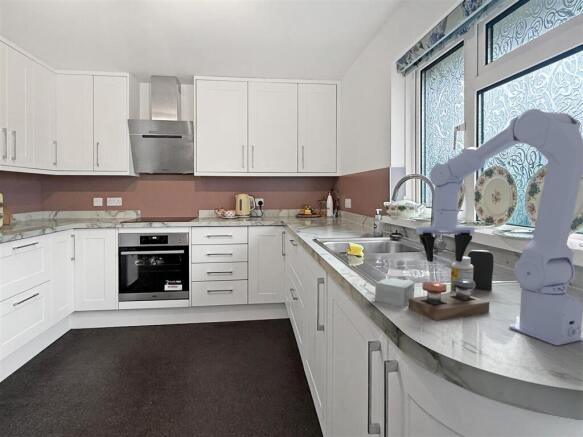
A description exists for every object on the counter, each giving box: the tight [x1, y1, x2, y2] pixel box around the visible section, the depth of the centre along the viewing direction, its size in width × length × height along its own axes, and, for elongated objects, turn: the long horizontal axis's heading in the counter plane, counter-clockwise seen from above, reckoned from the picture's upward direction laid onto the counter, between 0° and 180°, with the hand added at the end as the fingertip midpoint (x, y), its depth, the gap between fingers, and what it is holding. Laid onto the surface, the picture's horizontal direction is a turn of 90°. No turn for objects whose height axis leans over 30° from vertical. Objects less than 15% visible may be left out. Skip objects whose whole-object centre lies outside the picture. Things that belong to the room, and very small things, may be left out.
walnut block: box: [407, 292, 490, 322], centre depth 83 cm, size 9×16×2 cm, turn 111°
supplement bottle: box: [450, 255, 474, 295], centre depth 98 cm, size 6×6×10 cm
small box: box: [374, 277, 415, 308], centre depth 91 cm, size 8×8×5 cm
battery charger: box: [466, 249, 495, 291], centre depth 103 cm, size 7×4×11 cm, turn 66°
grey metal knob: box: [450, 279, 475, 300], centre depth 85 cm, size 5×5×4 cm
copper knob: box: [421, 281, 447, 304], centre depth 82 cm, size 5×5×4 cm
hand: (444, 261), depth 93 cm, fingers open, 7 cm apart
